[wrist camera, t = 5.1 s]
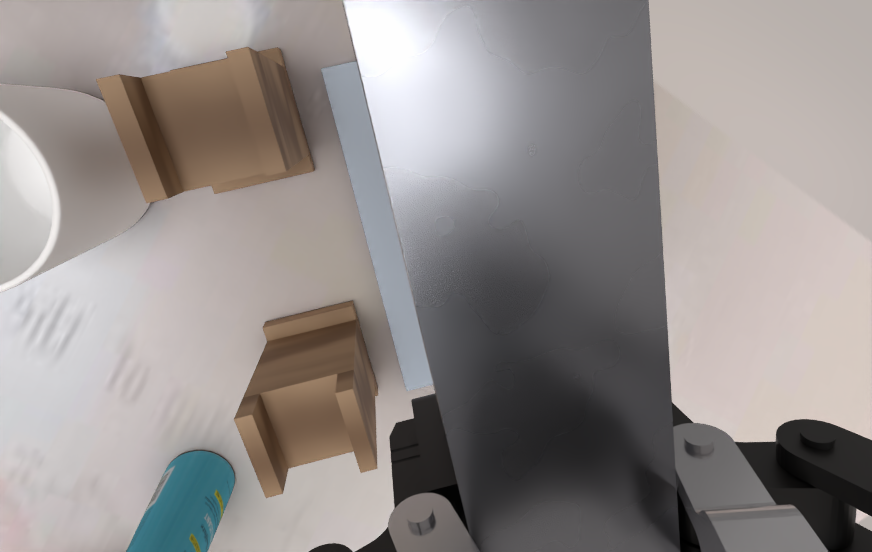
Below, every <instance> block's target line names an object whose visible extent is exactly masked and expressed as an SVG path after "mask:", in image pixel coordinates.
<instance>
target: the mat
mask: <svg viewBox="0 0 872 552" xmlns="http://www.w3.org/2000/svg"><path fill="white" fill-rule="evenodd" d="M321 71H322V75H323V78H324V82H325V86H326V90H327V93H328V97H329V101H330V105H331V109H332V112H333V116H334V120H335V124H336V127H337V131H338V135H339V139H340V142H341V146H342V150H343V154H344V157H345V161H346V165H347V169H348V172H349V176H350V180H351V184H352V187H353V191H354V195H355V199H356V203H357V206H358V210H359V214H360V218H361V221H362V225H363V229H364V233H365V236H366V240H367V244H368V248H369V251H370V255H371V259H372V263H373V266H374V270H375V274H376V278H377V281H378V285H379V289H380V293H381V297H382V300H383V304H384V308H385V312H386V315H387V319H388V323H389V327H390V330H391V334H392V338H393V342H394V345H395V349H396V353H397V357H398V360H399V364H400V368H401V372H402V375H403V379H404V383H405V387H406V391H410V390H414V389H417V388H421V387H425V386H429V385H433V382H432V377H431V373H430V369H429V365H428V361H427V356H426V352H425V348H424V344H423V340H422V335H421V331H420V327H419V323H418V318H417V314H416V310H415V306H414V302H413V297H412V293H411V289H410V285H409V281H408V276H407V272H406V268H405V264H404V260H403V255H402V251H401V247H400V243H399V239H398V234H397V230H396V226H395V222H394V218H393V213H392V209H391V205H390V201H389V197H388V192H387V188H386V184H385V180H384V175H383V171H382V167H381V163H380V159H379V154H378V150H377V146H376V142H375V138H374V133H373V129H372V125H371V121H370V117H369V112H368V108H367V104H366V100H365V96H364V91H363V87H362V83H361V79H360V75H359V70H358V66H357V62H356V61H354V62H350V63H345V64H340V65H336V66H331V67H327V68H322V69H321Z"/></svg>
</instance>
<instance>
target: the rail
mask: <svg viewBox="0 0 872 552" xmlns="http://www.w3.org/2000/svg"><path fill="white" fill-rule="evenodd" d="M342 3H343V7H344V11H345V16H346V20H347V24H348V28H349V32H350V37H351V41H352V45H353V49H354V53H355V58H356V62H357V66H358V70H359V75H360V79H361V83H362V87H363V91H364V96H365V100H366V104H367V108H368V112H369V117H370V121H371V125H372V129H373V133H374V138H375V142H376V146H377V150H378V154H379V159H380V163H381V167H382V171H383V175H384V180H385V184H386V188H387V192H388V197H389V201H390V205H391V209H392V213H393V218H394V222H395V226H396V230H397V234H398V239H399V243H400V247H401V251H402V255H403V260H404V264H405V268H406V272H407V276H408V281H409V285H410V289H411V293H412V297H413V302H414V306H415V310H416V314H417V318H418V323H419V327H420V331H421V335H422V340H423V344H424V348H425V352H426V356H427V361H428V365H429V369H430V373H431V377H432V382H433V386H434V390H435V394H436V398H437V403H438V407H439V411H440V415H441V419H442V423H443V427H444V431H445V435H446V439H447V443H448V447H449V452H450V456H451V460H452V464H453V468H454V472H455V476H456V480H457V484H458V488H459V493H460V497H461V501H462V505H463V509H464V514H465V518H466V522H467V526H468V530H469V535H470V536H471V538H472V540H473V541H474V543H475V545H476V546H477V548H478V550H479V551H480V552H680V537H679V519H678V502H677V485H676V468H675V450H674V433H673V416H672V399H671V381H670V364H669V347H668V330H667V312H666V295H665V278H664V261H663V243H662V226H661V209H660V191H659V174H658V157H657V140H656V122H655V105H654V88H653V74H652V73H653V71H652V54H651V37H650V19H649V2H648V0H342Z"/></svg>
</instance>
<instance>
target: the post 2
mask: <svg viewBox="0 0 872 552" xmlns="http://www.w3.org/2000/svg"><path fill="white" fill-rule="evenodd" d="M263 331H264V333H265V336H266V339H267V344H266V346H265V348H264V351H263V353H262V355H261V358H260V360H259V362H258V364H257V367H256V369H255V371H254V374H253V376H252V378H251V381H250V383H249V385H248V388H247V390H246V392H245V395H244V397H243V399H242V402H241V404H240V406H239V409H238V411H237V413H236V416H235V418H234V421H235V423H236V425H237V428H238V430H239V433H240V435H241V438H242V440H243V443H244V445H245V448H246V450H247V453H248V455H249V457H250V460H251V462H252V465H253V467H254V470H255V472H256V475H257V477H258V480H259V482H260V485H261V487H262V489H263V492H264V494H265V497H266V498H268V497H272V496H276V495H279V494H283V491H284V486H285V481H286V477H287V472H288V468H292V467H296V466H299V465H303V464H307V463H311V462H315V461H318V460H322V459H326V458H330V457H334V456H337V455H341V454H345V453H349V452H353V451H354V453H355V456H356V460H357V463H358V466H359V469H360V472H361V473H362V472H366V471H370V470H373V469H377V444H376V413H375V396H377V395H378V387H377V384H376V380H375V377H374V373H373V370H372V366H371V363H370V359H369V356H368V352H367V349H366V346H365V342H364V339H363V335H362V332H361V328H360V325H359V321H358V318H357V314H356V311H355V307H354V304H353V301H349V302H345V303H341V304H337V305H333V306H329V307H325V308H321V309H317V310H313V311H308V312H304V313H300V314H296V315H292V316H288V317H284V318H280V319H276V320H272V321H268V322H265V324H264V326H263Z"/></svg>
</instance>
